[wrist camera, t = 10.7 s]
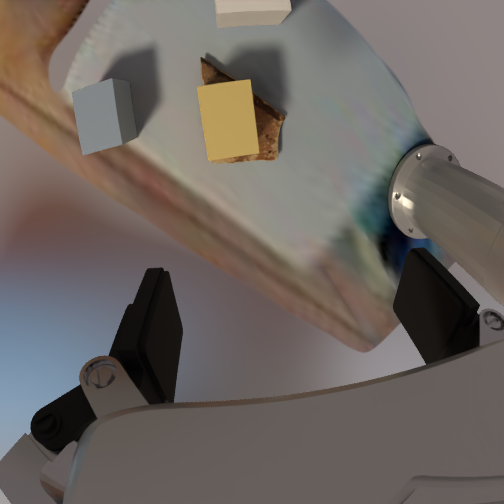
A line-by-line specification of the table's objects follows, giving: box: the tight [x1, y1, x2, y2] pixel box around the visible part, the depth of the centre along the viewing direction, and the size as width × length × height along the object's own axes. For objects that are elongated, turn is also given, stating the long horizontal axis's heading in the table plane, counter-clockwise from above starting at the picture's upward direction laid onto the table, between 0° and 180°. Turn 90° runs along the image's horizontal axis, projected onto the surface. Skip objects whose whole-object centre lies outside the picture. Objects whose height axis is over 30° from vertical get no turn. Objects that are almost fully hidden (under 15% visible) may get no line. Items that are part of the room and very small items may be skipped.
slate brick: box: [72, 78, 138, 155], centre depth 22 cm, size 6×4×5 cm, turn 6°
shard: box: [200, 57, 285, 164], centre depth 25 cm, size 11×8×2 cm
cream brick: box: [214, 0, 292, 28], centre depth 18 cm, size 6×4×5 cm, turn 96°
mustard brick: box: [197, 79, 259, 161], centre depth 22 cm, size 6×4×5 cm, turn 7°
